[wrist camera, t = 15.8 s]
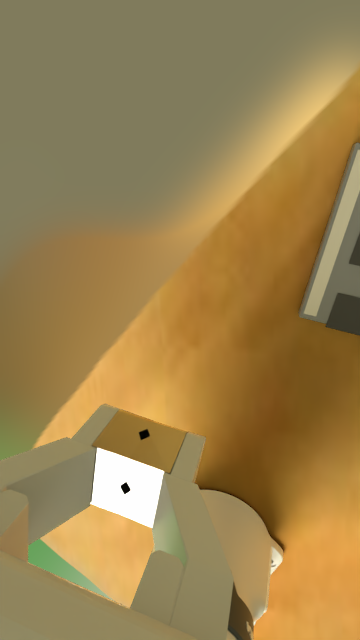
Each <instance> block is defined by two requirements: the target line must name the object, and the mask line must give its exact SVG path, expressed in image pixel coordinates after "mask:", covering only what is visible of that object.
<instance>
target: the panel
mask: <svg viewBox="0 0 360 640" xmlns="http://www.w3.org/2000/svg"><path fill="white" fill-rule="evenodd" d="M298 313H299V317H301V318H305V319H309V320H313V321H317V322H321V323H325V324H326V327H328V328H332V329H336V330H340V331H344V332H348V333H352V334H356V335H360V143H355V144H354V145H353V147H352V150H351V153H350V156H349V159H348V162H347V165H346V168H345V171H344V174H343V177H342V180H341V183H340V186H339V190H338V193H337V196H336V199H335V202H334V205H333V208H332V211H331V214H330V217H329V220H328V223H327V226H326V229H325V233H324V236H323V239H322V242H321V245H320V248H319V251H318V254H317V257H316V260H315V263H314V266H313V269H312V272H311V276H310V279H309V282H308V285H307V288H306V291H305V294H304V297H303V300H302V303H301V306H300V309H299V312H298Z"/></svg>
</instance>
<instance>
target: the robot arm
mask: <svg viewBox="0 0 360 640" xmlns="http://www.w3.org/2000/svg"><path fill="white" fill-rule="evenodd" d="M205 441H206V437H204V436H201V435H198V434H194V433H191V432H186V431H183V430H180V429H177V428H174V427H171V426H168V425H165V424H162V423H159V422H155V421H153V420H150V419H147V418H144V417H142V416H139V415H136V414H133V413H131V412H128V411H125V410H122V409H121V410H120V409H119V408H116V407H113V406H110V405H107V404H103V405H101V406H100V407H99V408H98V409H97V410H96V411H95V413H94V414H93V415H92V416H91V417H90V418H89V419H88V420H87V422H86V423H85V424H84V425H83V426H82V427H81V428H80V430H79V431H78V432H77V433H76V434H75V435H74V436H73V438H72V439H70V438H67V437H66V438H63V439H60V440H57V441H54V442H52V443H49V444H46V445H43V446H40V447H37V448H34V449H32V450H29V451H26V452H23V453H20V454H17V455H15V456H12V457H9V458H6V459H3V460H0V640H254V638H253V629H254V625H255V623H256V620H258V619H259V618H260V617H261V616H262V615H263V613H264V612H266V611H267V607H268V598H269V585H270V575H271V574H272V573H273V572H274V571H275V569H276V568H277V567H278V566H279V565H280V563H281V562H282V561H283V550H282V548H281V547H280V546H279V545H278V544H277V543H276V542H275V541H274V540H273V539H272V538H271V537H270V535H269V533H268V531H267V528H266V526H265V524H264V522H263V521H262V519H261V518H260V516H259V515H258V514H257V513H256V512H255V511H254V510H253V509H252V508H251V507H250V506H249V505H247V504H246V503H244V502H243V501H241V500H240V499H238V498H236V497H234V496H231V495H229V494H226V493H223V492H219V491H214V490H200V489H199V487H198V485H197V484H195V480H196V476H197V472H198V469H199V465H200V461H201V457H202V453H203V449H204V445H205ZM90 504H93V505H96V506H99V507H102V508H104V509H107V510H110V511H113V512H115V513H118V514H121V515H123V516H126V517H128V518H130V519H133V520H135V521H137V522H140V523H142V524H144V525H147V526H149V527H151V528H152V533H153V539H154V547H153V550H152V553H151V555H150V558H149V560H148V563H147V566H146V568H145V571H144V573H143V576H142V578H141V581H140V584H139V586H138V589H137V591H136V594H135V597H134V599H133V602H132V604H131V607H130V608H128V607H126V606H124V605H122V604H119V603H117V602H115V601H113V600H110V599H108V598H106V597H104V596H102V595H99V594H97V593H95V592H93V591H90V590H88V589H86V588H84V587H81V586H79V585H77V584H75V583H73V582H70V581H68V580H66V579H64V578H61V577H59V576H57V575H55V574H52V573H50V572H48V571H46V570H44V569H41V568H39V567H37V566H35V565H32V564H30V563H28V545H30V544H31V543H33V542H34V541H36V540H38V539H39V538H41V537H42V536H44V535H45V534H47V533H48V532H50V531H52V530H53V529H55V528H56V527H58V526H59V525H61V524H62V523H64V522H66V521H67V520H69V519H70V518H72V517H73V516H75V515H76V514H78V513H80V512H81V511H83V510H84V509H86V508H87V507H89V506H90Z"/></svg>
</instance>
